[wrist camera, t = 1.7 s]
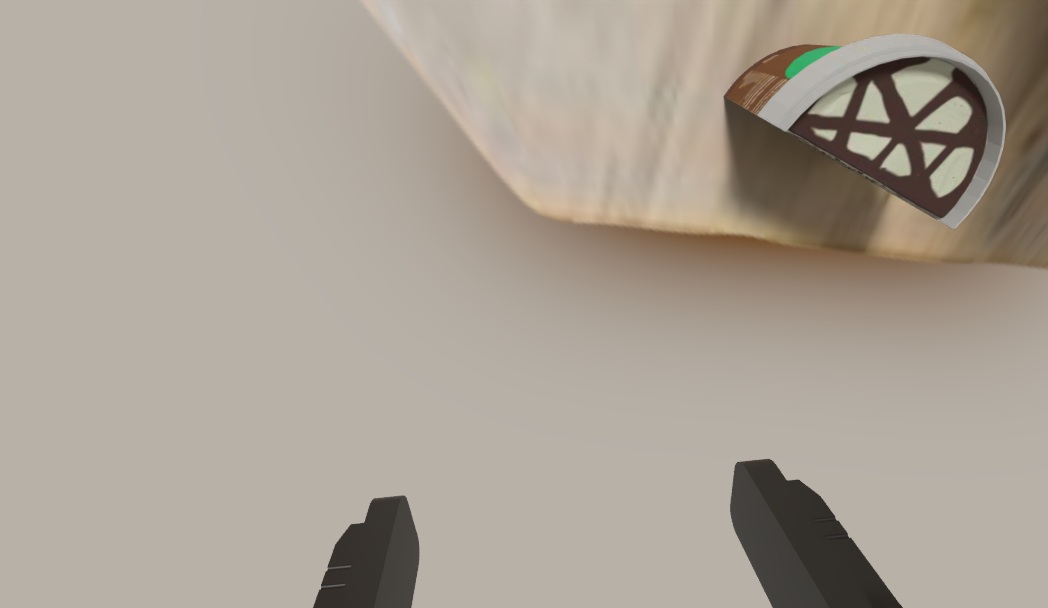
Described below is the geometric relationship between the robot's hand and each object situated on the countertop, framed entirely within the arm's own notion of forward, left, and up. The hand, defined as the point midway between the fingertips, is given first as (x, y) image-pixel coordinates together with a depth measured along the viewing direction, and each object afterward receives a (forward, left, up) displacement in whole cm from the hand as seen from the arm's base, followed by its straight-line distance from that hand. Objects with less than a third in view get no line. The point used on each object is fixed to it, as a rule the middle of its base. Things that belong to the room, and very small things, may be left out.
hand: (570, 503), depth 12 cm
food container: (-15, +10, -26) cm, 31 cm away
